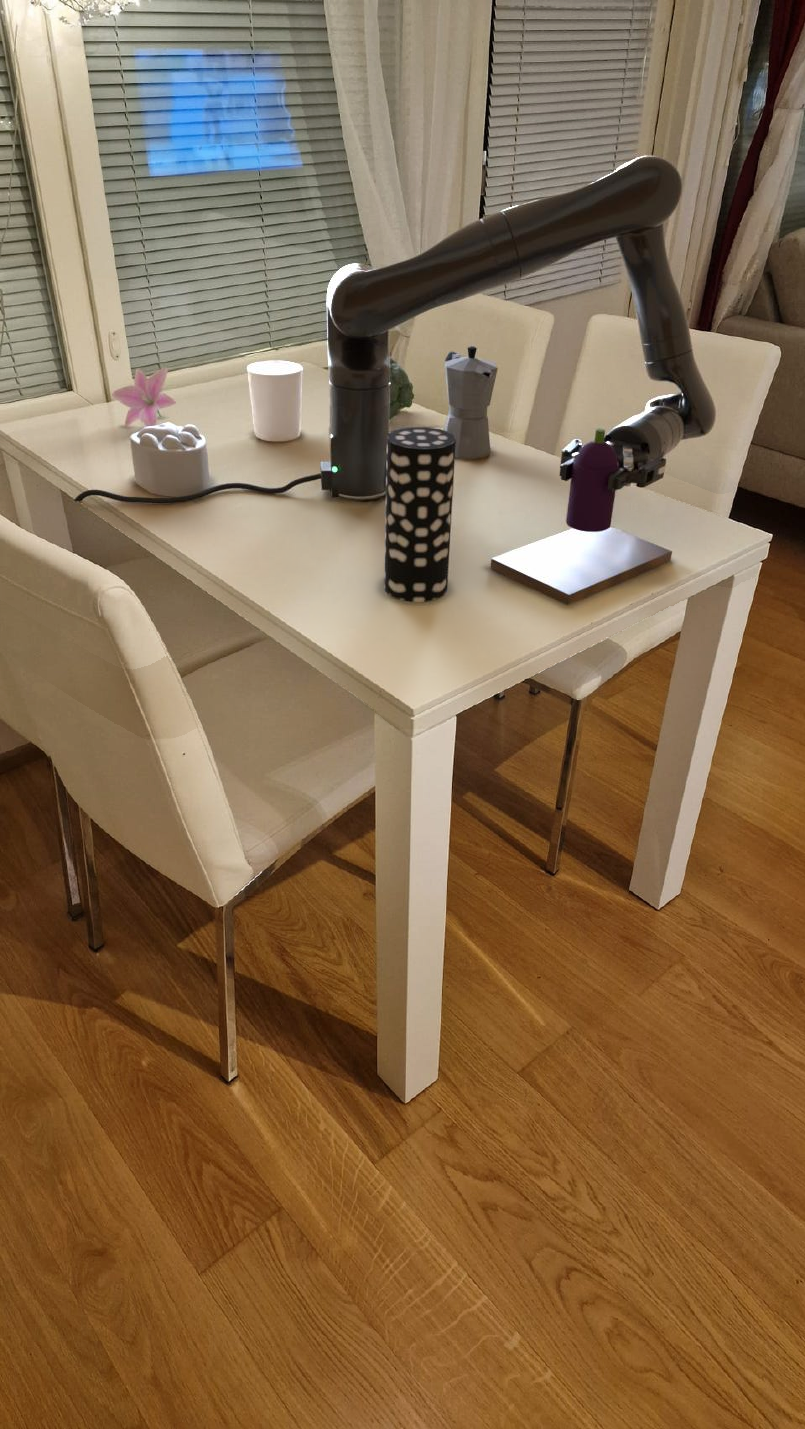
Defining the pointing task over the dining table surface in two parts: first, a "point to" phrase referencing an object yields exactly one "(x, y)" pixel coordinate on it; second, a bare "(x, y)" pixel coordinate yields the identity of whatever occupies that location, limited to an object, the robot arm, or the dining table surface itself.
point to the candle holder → (276, 399)
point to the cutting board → (580, 562)
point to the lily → (144, 397)
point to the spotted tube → (418, 512)
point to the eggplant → (592, 486)
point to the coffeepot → (469, 402)
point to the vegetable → (399, 389)
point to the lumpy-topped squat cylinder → (170, 460)
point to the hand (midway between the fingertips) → (587, 478)
